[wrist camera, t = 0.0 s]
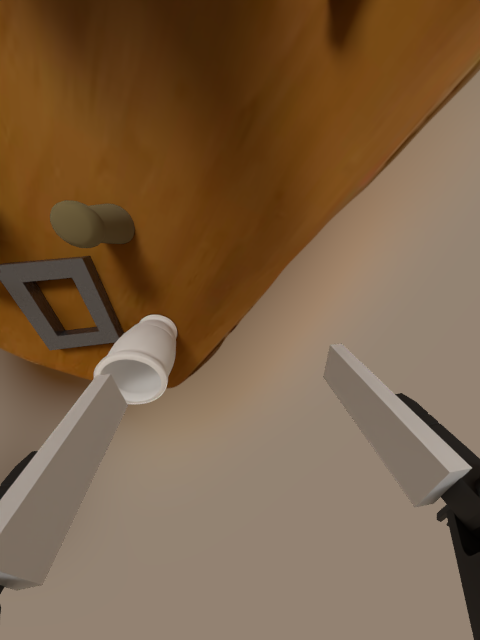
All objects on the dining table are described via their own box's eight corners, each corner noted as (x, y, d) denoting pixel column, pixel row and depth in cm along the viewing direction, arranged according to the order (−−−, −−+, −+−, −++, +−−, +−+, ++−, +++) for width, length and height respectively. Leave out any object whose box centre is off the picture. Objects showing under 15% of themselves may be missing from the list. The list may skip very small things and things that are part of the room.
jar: (132, 305, 38) (87, 350, 24) (183, 313, 40) (168, 357, 26) (134, 347, 42) (97, 404, 29) (180, 352, 44) (166, 406, 31)
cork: (129, 250, 33) (94, 262, 23) (91, 232, 31) (35, 237, 21) (139, 216, 31) (104, 214, 21) (98, 195, 29) (39, 181, 19)
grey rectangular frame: (4, 263, 31) (-10, 265, 29) (89, 255, 32) (82, 258, 30) (57, 343, 39) (49, 350, 38) (125, 336, 40) (120, 341, 39)
